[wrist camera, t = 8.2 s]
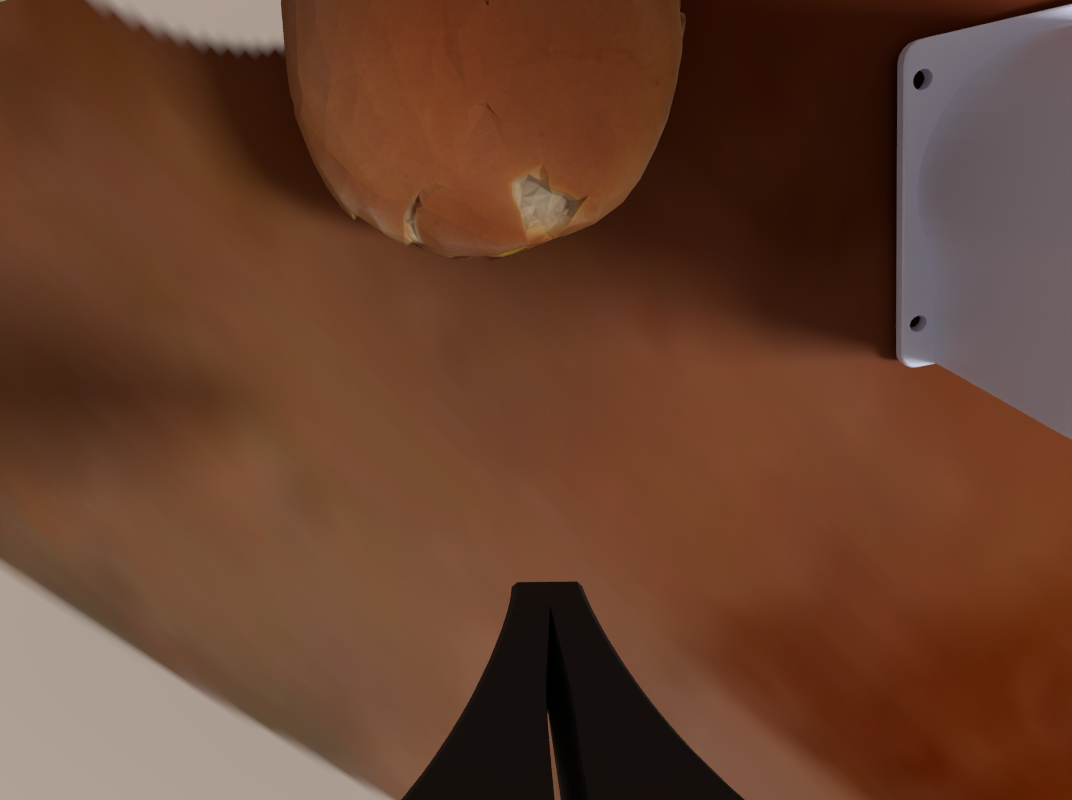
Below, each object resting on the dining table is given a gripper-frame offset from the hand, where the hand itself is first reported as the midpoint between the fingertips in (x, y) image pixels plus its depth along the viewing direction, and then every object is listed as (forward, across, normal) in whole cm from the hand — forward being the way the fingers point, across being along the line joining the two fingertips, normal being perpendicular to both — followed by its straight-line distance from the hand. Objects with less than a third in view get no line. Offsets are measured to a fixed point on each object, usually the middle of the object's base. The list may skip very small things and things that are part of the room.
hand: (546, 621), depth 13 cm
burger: (+10, +1, -11) cm, 15 cm away
